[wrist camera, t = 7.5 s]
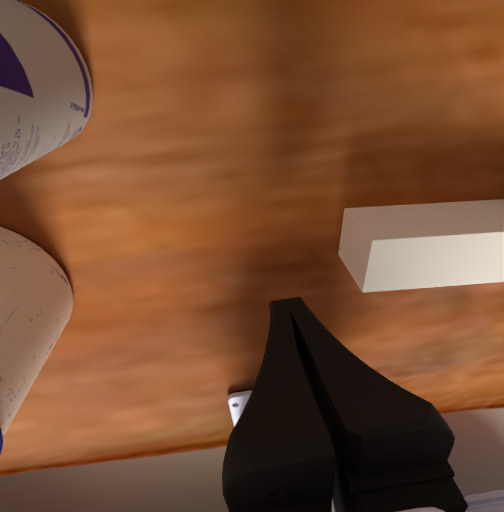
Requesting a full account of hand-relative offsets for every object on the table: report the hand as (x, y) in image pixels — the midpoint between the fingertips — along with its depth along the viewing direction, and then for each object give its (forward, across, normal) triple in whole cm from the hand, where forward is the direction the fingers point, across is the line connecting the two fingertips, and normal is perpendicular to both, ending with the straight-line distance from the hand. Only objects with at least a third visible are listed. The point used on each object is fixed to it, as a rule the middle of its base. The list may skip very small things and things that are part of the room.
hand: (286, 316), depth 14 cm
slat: (+6, -10, 0) cm, 12 cm away
